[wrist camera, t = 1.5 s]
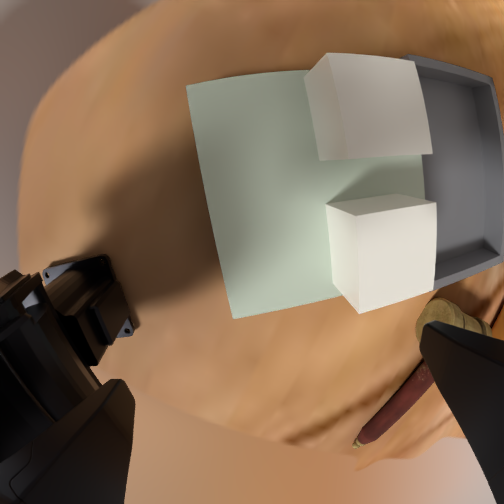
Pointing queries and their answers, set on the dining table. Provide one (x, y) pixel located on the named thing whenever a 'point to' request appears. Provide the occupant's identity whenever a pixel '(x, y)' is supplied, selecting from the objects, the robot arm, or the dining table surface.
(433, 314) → the gavel
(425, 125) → the light grey block
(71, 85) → the dining table surface
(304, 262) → the board
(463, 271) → the tray
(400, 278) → the white square block
